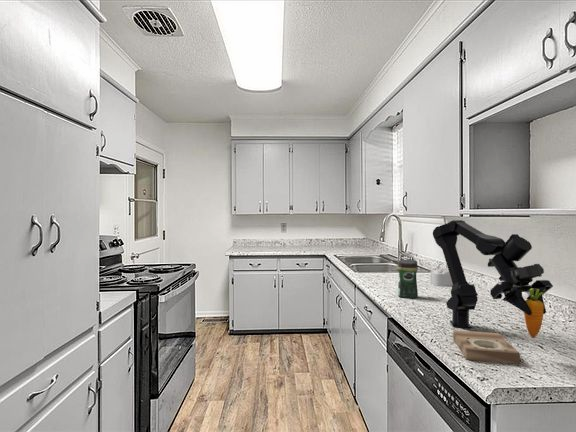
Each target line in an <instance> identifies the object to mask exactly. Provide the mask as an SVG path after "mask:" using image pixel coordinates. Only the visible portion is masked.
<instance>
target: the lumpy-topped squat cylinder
mask: <svg viewBox="0 0 576 432" xmlns="http://www.w3.org/2000/svg"><path fill="white" fill-rule="evenodd" d="M429 280H430V281H429V282H430V285H432V286H433V287H434V286H435V287H452V286H453V283H452V280H451V276H450V273H449V270H448V269H442V268H438V269H434V270H431V271H430V279H429Z"/></svg>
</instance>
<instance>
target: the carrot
mask: <svg viewBox="0 0 576 432" xmlns="http://www.w3.org/2000/svg"><path fill="white" fill-rule="evenodd" d="M529 292H530V296H531V299H528V300H527V299H524V300H525V301H526V303H527V305H528V306H529V308H530V310H531V312H532V314H531V315H528V314H526V313H525V312H523V314H524V315H523V316H524V322H525V326H526V329H527V331H528V334H529V336H530V337H531V338H532V339H535V338H536V337H537V335H538V334H539V333H540V330H541V329H542V324H543V320H544V314H543V310H544V305H545V304H544V305H543V303H542V302H541V301H539V300H537V299H538V297H539V296H541V295H542V296H543V295H545V294H544V293H543V292H541V293H539V294H538V292H539V289H537V290H536V293H535V297H534V289H533V288H531V289H529Z"/></svg>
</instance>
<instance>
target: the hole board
mask: <svg viewBox="0 0 576 432" xmlns="http://www.w3.org/2000/svg"><path fill="white" fill-rule="evenodd" d="M452 340H453V341H454V344H456V346H457V348H458V349H459V350H460V353H461V354H462V356H463V357H464V358H465V360H467V361H468V360H469V361H476V362H477V361H480V362H491V363H503V364H505V363H506V364H514V365H516V364H517V365H520V364H521V362H520V361H521V353H520V352H519V350H517V349H516V348H515V347H514V346H513V345H511V344H510V342H508V341H507V340H506V339H505V338H504V337H503V336H502V335H501V333H498V332H486V331H485V332H483V331H471V330H455V329H453V331H452Z"/></svg>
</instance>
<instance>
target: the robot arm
mask: <svg viewBox="0 0 576 432" xmlns="http://www.w3.org/2000/svg"><path fill="white" fill-rule="evenodd" d="M458 236H461V237H463V238H465V239H467V240H468V241H470V242H471V243H472V244H474V245H475V248H476V250H478V251H479V252H480V254H481V255H484V256H493V257H492V258H489V259H488V262H487V267H489V268H490V267H492V268H493V267H494V268H495V270H496V271H497V273H498V275H499V277H498V279H499V281H498V282H497V283H496V284H494V286H493V287H492V288H491V289H490V292H489V293H490V296H491V297H492V299H493V300H501V299H502V300H503V301H504V302H507V303H508V304H511V305H512V306H514V307H516V308H517V309H519V310H520V311H522V312H523V313H524V312H525V313H526V314H528V315H531V314H532V312H531V310H530V308H529V306H528V305H527V303H526V301H525V300H528V299H531V296H530V292H529V289H531V288H533V289H534V297H535V293H536V290H537V289H539V292H538V294H539V293H541V292H543V293H544V294H543V295H545V294H546V293H547V292H548V291H550V290H551V289H552V288H553V287H554V286H553V284H552V283H551V281H550V280H548V279H537V280H535V281H534V278H537V277H538V278H540V277H542V275H543V274H544V273H545V270H544V267H543V266H541V265H540V263H533V264H531V265H526V266H523V267H519V266H518V265H517V264H516V262H520V261H521V260H522V259H523V258H524V257H525V256H526V255H527V254H528V253H529V252H530V251H531V250H532V249H533V246H532V243H531V242H530V241H528V239H525V238H524V237H522V236H519V234H518V233H517V234H516V233H514V234H513V233H512V234H511V235H510V236H509V238H508V239H507V240H506V241H505V240H504V239H502V238H501V237H498V236H495V235H490V234H485V233H484V232H483V231H480V230H479V229H477V228H475V227H473V226H472V225H470V224H468V223H467V222H465V220H463V219H456V220H455V219H454V220H451V221H448V223H444V224H441V225H439V226H436V227H435V228H434V229H433V230H432V237H433V239H434V241H435V243H436V245H437V246H438V247H439V248H440V249H441V250H442V252H443V255H444V259H445V263H446V265H447V270H449V273H450V276H451V280H452V283H453V286H451V289H450V296H451V297H450V298H449V299H448V300H447V301H446V308H447V309H449V310H451V313H452V316H451V317H452V319H451V320H449V323H450V324H451V326H452V327H453V328H464V329H465V328H466V329H472V328H473V326H472V325H471V324H470V311H474V310H475V309H476V305H477V303H478V301H479V300H478V293H477V291H476V285H474V284H470V283H469V282H468V281H467V279H466V275H465V272H464V271H465V270H464V269H463V268H464V267H463V265H462V263H461V259H460V256H459V253H458V251H457V247H456V245H457V242H458ZM533 281H534V282H533ZM532 282H533V283H532ZM530 283H532V284H530ZM523 293H526V294H527V297H526V299H524V297H523ZM503 295H504V298H503ZM543 295H541V296H539V297H538V299H537V300H539V301H541V302H542V303H543V305H544V310H543V315H546V313H547V309H546V305H545V302H544V297H543Z"/></svg>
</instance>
